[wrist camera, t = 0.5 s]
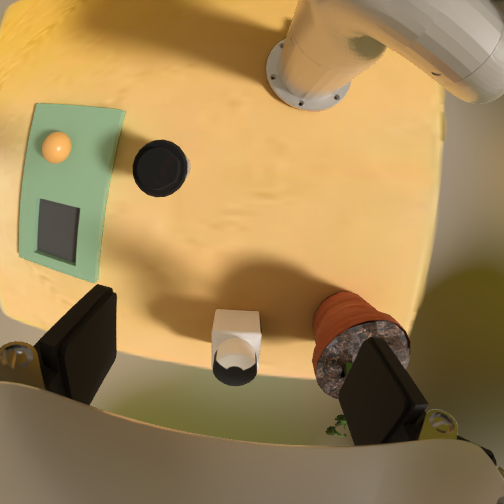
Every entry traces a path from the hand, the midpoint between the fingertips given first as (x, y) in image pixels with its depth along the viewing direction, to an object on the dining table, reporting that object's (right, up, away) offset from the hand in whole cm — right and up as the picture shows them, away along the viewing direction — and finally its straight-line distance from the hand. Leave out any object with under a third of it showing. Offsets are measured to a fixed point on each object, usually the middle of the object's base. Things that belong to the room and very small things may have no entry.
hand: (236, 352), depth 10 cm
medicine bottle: (-2, -9, +39) cm, 40 cm away
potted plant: (+16, -9, +39) cm, 43 cm away
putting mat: (-31, +14, +31) cm, 46 cm away
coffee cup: (-11, +16, +32) cm, 37 cm away
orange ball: (-29, +19, +26) cm, 43 cm away
